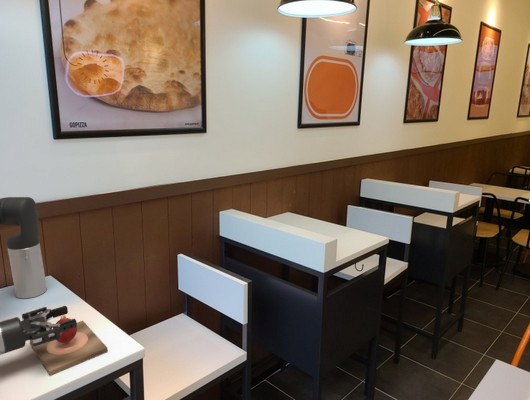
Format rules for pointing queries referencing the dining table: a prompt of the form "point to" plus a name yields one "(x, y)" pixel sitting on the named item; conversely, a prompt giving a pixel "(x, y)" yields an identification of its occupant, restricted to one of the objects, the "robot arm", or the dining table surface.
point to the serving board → (70, 350)
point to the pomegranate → (66, 332)
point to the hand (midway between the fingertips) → (71, 315)
